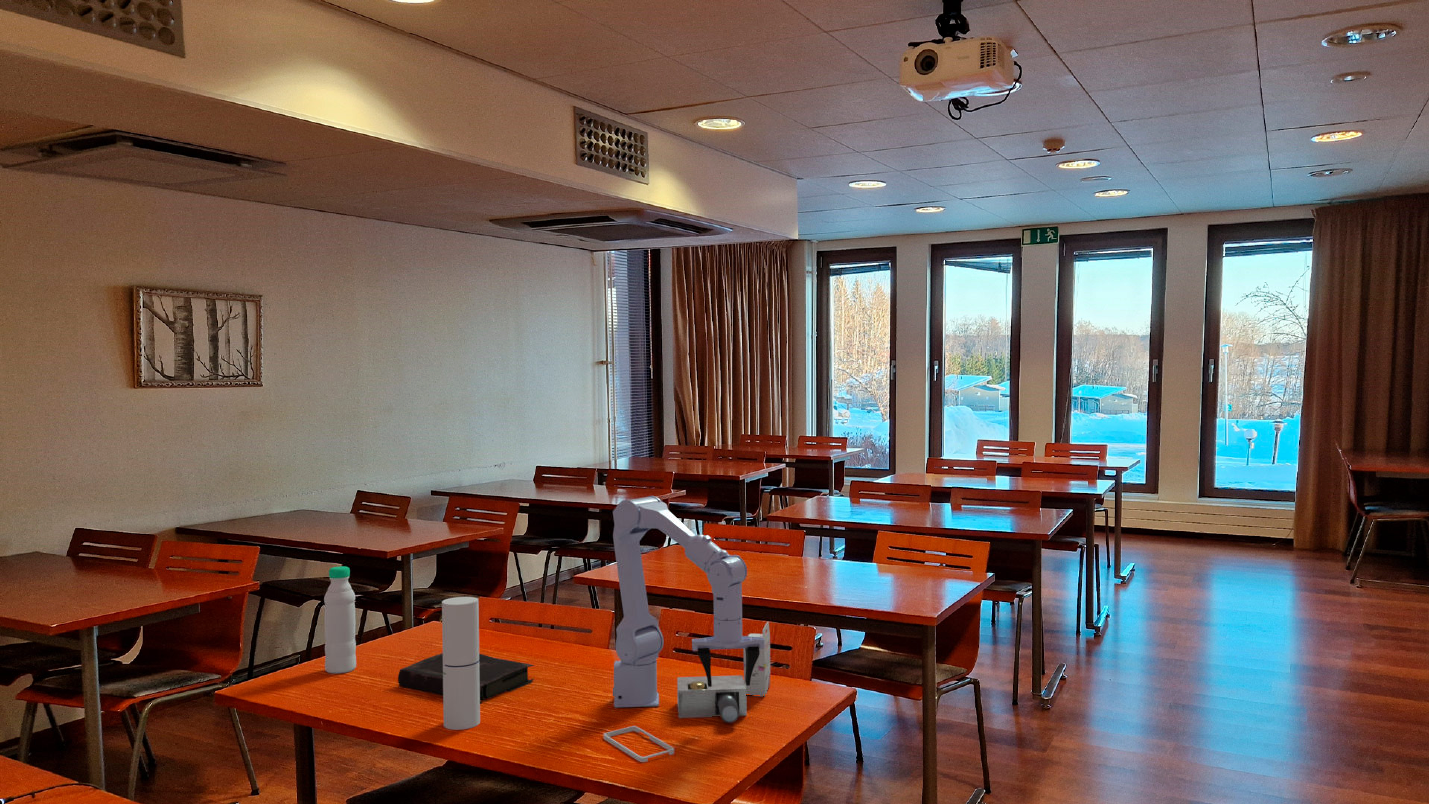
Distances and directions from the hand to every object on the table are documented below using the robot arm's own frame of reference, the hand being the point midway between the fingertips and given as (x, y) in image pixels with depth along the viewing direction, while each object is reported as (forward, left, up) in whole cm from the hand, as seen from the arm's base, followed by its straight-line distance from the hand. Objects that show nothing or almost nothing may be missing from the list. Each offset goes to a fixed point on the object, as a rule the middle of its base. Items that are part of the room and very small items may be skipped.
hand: (728, 684), depth 188 cm
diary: (-58, +31, -8) cm, 66 cm away
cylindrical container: (-54, +5, -8) cm, 55 cm away
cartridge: (0, +4, -8) cm, 9 cm away
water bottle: (-91, +45, -8) cm, 102 cm away
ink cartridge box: (+8, +20, -8) cm, 23 cm away
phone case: (-18, -10, -8) cm, 22 cm away
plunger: (-6, +7, -3) cm, 9 cm away
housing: (-3, +9, -8) cm, 12 cm away
